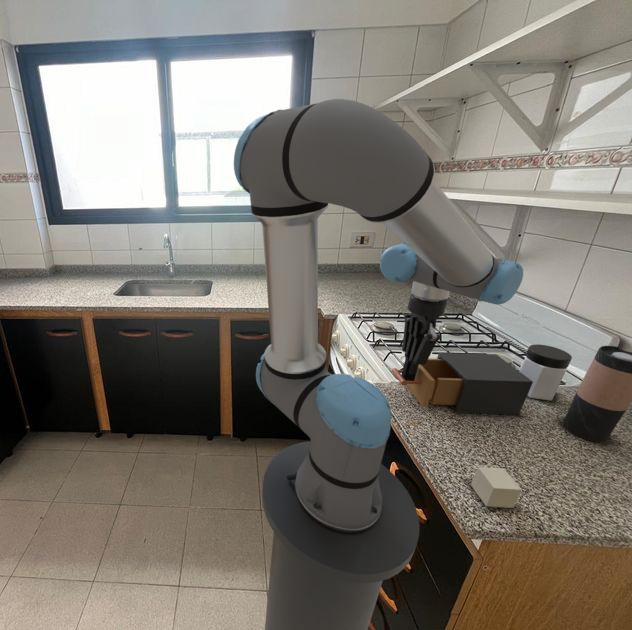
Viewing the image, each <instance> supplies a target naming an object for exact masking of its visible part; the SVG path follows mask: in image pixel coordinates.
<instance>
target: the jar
mask: <svg viewBox="0 0 632 630" xmlns="http://www.w3.org/2000/svg"><path fill="white" fill-rule="evenodd" d="M572 359H573V357H572V355H571V354H570V353H569V352H567V351H565V350H563V349H561V348H558V347H556V346H552V345H547V344H539V343H538V344H531V345H529V347H528V348H527V349H526V353H525V358H524V360H523V362H522V363H521V365H520V367H519V370H518V371H519V372H521V373H522V374H523V375H525V376H526V377H527V378H529V379H530V380H531V381H533V383H532V386H531V388H530V390H529V393H528V395H527V397H529V398H530V399H536V400H543V401H549V402H550V401H553V399H554V397H555V395H556V393H557V392H558V389H559V386H560V385H561V382H562V380H563V378H564V376H565V375H566V372H567V369H568V367H569V365H570V364H571V361H572Z"/></svg>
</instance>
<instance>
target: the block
mask: <svg viewBox="0 0 632 630" xmlns="http://www.w3.org/2000/svg"><path fill="white" fill-rule="evenodd" d="M470 486H471V487H472V489H473V490H474V491H475V493H476V495H477V496H478V498H480V500H481V501H482V503H483V504H484V506H485V507H487V508H488V507H491V508H508V509H514V507H515V506H516V503H517V501H518V500H519V497H520V496H521V493H522V491H523V489H522V488H521V487H520V485H519V484H518V483H517V482H516V481H515V480H514V479H513V477H512V476H511V474H509V473H508V471H507V470H506V468H503V467H487V466H478V467H477V468H476V471H475V473H474V475H473V478H472V480H471V482H470Z"/></svg>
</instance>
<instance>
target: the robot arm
mask: <svg viewBox="0 0 632 630" xmlns="http://www.w3.org/2000/svg"><path fill="white" fill-rule="evenodd" d="M233 153H234V154H233V171H234V175H235V178H236V181H237V183H238V185H239V186H240V187H241V188H242V189H243V191H245V192H246V193H248V194H249V199H250V200H249V201H250V209H251V210H250V211H251V216H252V217H253V218H254V219H256V220H257V221H259V222H260V223H261V229H262V240H263V241H262V242H263V253H264V268H265V282H266V294H267V306H268V307H267V308H268V320H269V321H268V322H269V335H270V344H269V345H268V346H267V347H266V348H265V349H264V353H263V354H262V355H261V357H260V362H259V363H257V366H256V369H255V380H256V385H257V387H258V389H259V390H260V391H261V393H262V395H264V397H265V398H266V399H267V400H268V401H269V402H270V403H271V404H273V405H274V406H275V407H276V408H277V409H278V410H279V411H280V412H282V414H284V415H285V416H286V417H287V418H288V419H289V420H290V421H292V423H294V424H295V425H296V426H297V427H298V428H299V429H300V430H301V431H302V432H303V433H304V434H306V436H308V437H309V439H310V441H311V443H310V451H309V454H308V456H307V457H306V459H305V460H304V462H303V463H302V465H301V466H300V468H299V470H298V472H297V473H296V474H291V475H287V479H288V480H294V479H296V480H295V493H296V497H297V500H298V502H299V504H300V506H301V507H302V509H303V510H304V511H305V513H306V514H307V515H308V516H309V517H310V518H311V519H313V520H314V521H315V522H316V523H318V524H319V525H321V526H323V527H325V528H327V529H329V530H331V531H334V532H338V533H342V534H359V533H363V532H366V531H368V530H370V529H371V528H372V527H374V526H375V524H376V523H377V522H378V520H379V517H380V514H381V510H382V495H381V490H380V485H379V480H378V472H379V469H380V465H381V464H382V461H383V457H384V453H385V450H386V445H387V442H388V439H389V437H390V435H391V423H392V416H393V415H392V408H391V405H390V402H389V400H388V398H387V396H385V394H384V393H383V392H382V391H381V390H380V389H379V388H378V387H377V386H375V385H374V384H373V383H372V382H370V381H368V380H366V379H364V378H361V377H359V376H356V377H353V376H352V375H351V374H347V373H333V374H332V373H331V372H329V371H328V369H327V352H326V349H325V348H324V346H323V345H321V344H320V343H319V290H318V289H319V266H318V265H319V260H318V259H319V255H318V254H319V251H318V250H319V249H318V248H319V245H318V244H319V239H318V238H319V236H318V235H319V234H318V233H319V231H318V229H319V227H318V226H319V225H318V223H319V217H320V216H321V215H322V214H323V213H324V212H325V211H326V210H327V209H328V208H329V204H330V205H334V206H340V207H343V208H347V209H349V210H352V211H353V212H355V213H357V214H358V215H359V216H360V217H361V218H363V219H364V220H366V221H367V222H370V223H376V224H382V225H384V227H386V228H387V229H388V230H389V231H390V232H391V233H392V234H393V235H394V236H396V237H397V238H398V239H399V240H400V241H401V242H402V243H399V244H395V245H392V246H390V247H388V248H386V250H385V251H384V252H383V253H382V254H381V257H380V260H379V269H380V272H381V274H382V275H383V276H384V278H386V279H387V280H388V281H390V282H394V283H400V282H401V283H405V282H408V281H411V282H412V284H411V285H412V286H411V289H410V293H411V294H410V295H409V299H408V304H407V310H408V311H409V312H410V313H405V314H404V327H403V328H404V329H403V337H402V339H403V340H402V345H401V346H402V347H401V351H402V352H403V353H404V357H405V359H404V362H403V367H402V370H403V371H402V373H401V375H402V376H403V378H404V379H405V380H406V381H414V380H415V376H416V373H417V369H418V366H419V365H425V364H426V362H427V360H428V359H430V357H431V354H432V352H433V350H434V349H435V346H436V344H437V343H438V342H439V340H441V334H439V333H437V332H436V328H437V319H438V318H440V317H442V316H444V315H445V312H446V308H447V305H448V300H447V299H449V297H450V293H453V294H457V295H460V296H463V297H466V298H470V299H473V300H476V301H477V302H480V303H481V302H483V303H488V304H492V305H499V306H500V305H503V304H506V303H507V302H509V301H510V300H511V299H512V298H513V297H514V296H515V295H516V293H517V292H518V290H519V288H520V286H521V285H522V281H523V278H524V268H523V266H522V264H520V263H518V262H515V261H512V260H507V258H497V257H495V256H494V255H493V254H492V252H491V251H490V250H489V248H488V247H487V246H486V244H485V243H484V242H483V241H482V239H481V238H480V237H479V236H478V235H477V233H476V231H474V229H473V228H472V226H471V225H470V224H469V223H468V222H467V221H466V219H465V218H464V216H463V215H462V214H461V212H460V211H459V210H458V209H457V208H456V206H455V205H454V204H453V202H452V201H451V200H450V198H449V197H448V196H447V194H446V193H445V192H444V191H443V189H442V188H441V186H439V185H438V183H437V181H435V176H436V169H435V164H434V162H433V160H432V158H431V157H430V155H429V154H428V153H427V152H426V150H425V149H424V148H423V147H422V146H421V145H420V143H419V142H418V141H417V140H416V139H415V137H414V136H412V135H411V134H410V133H409V132H408V131H407V130H406V129H405V128H403V127H402V126H401V125H399V124H398V123H397V122H396V121H395V120H393V119H392V118H390V117H389V116H387V115H385V114H384V113H383V112H381V111H379V110H377V109H376V108H373V107H371V106H369V105H368V104H365V103H362V102H359V101H357V100H352V99H345V98H333V99H327V100H322V101H320V102H315V103H311V104H306V105H302V106H296V107H291V108H285V109H277V110H273V111H270V112H269V113H267V114H264V115H262V116H259V117H257V118H256V119H254V120H253V121H251V122H250V123H249V124H248V125H247V126H246V127H245V129H244V130H243V132H242V134H241V135H240V136H239V137H238V140H237V142H236V145H235V149H234V152H233Z"/></svg>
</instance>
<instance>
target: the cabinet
mask: <svg viewBox="0 0 632 630" xmlns="http://www.w3.org/2000/svg"><path fill="white" fill-rule="evenodd" d="M436 359H442V360H443V361H445V362H446V363H447V364H448V365H449V366H450V367H451V368H452V369H453V370H454V371H455V372H456V373H457V374H458V375H459V376H460V377H461V378H462V379H463V380H464V382H463V385H462V388H461V391H460V394H459V397H458V400H457V403H456V405H449V406H450V407H451V408H452V410H453V411H454V412H455V413H463V414H464V413H466V414H489V415H512V416H513V415H514V416H515V415H516V416H519V415H520V413H521V411H522V409H523V407H524V404H525V402H526V399H527V397H528V396H527V395H528V393H529V390H530V388H531V386H532V383H533V381H531V380H530V379H529V378H527V377H526V376H525V375H523V374H522V373H521V372H519V370H518V369H517V368H515V367H514V366H513V365H512V364H510V363H509V362H507V361H506V360H504V359H503V358H502V357H501V356H499V355H498V354H496V353H495V354H494V353H463V352H461V353H459V352H458V353H457V352H438V354H437V358H436Z"/></svg>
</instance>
